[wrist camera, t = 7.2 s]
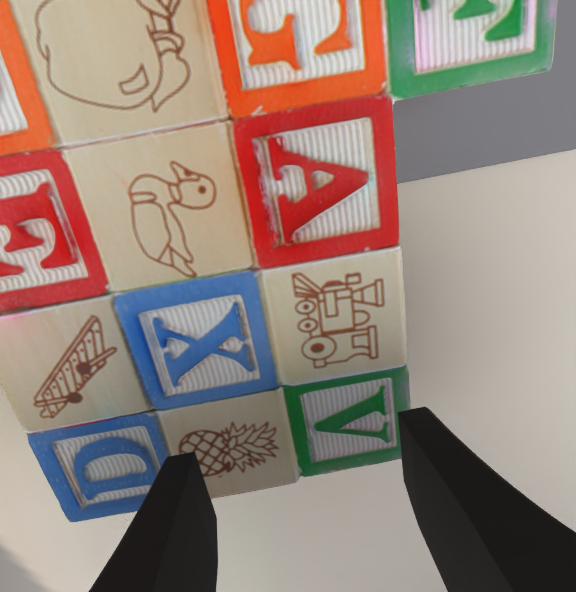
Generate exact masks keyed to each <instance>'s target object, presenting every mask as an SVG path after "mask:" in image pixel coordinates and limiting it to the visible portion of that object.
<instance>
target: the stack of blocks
mask: <svg viewBox="0 0 576 592" xmlns="http://www.w3.org/2000/svg"><path fill="white" fill-rule="evenodd" d="M557 1H558V0H0V383H1V385H2V387H3V389H4V391H5V393H6V395H7V397H8V400H9V402H10V404H11V406H12V408H13V410H14V412H15V414H16V416H17V418H18V420H19V422H20V424H21V426H22V428H23V430H24V431H25V432H26V434H27V436H28V441H29V444H30V446H31V448H32V450H33V452H34V454H35V456H36V458H37V460H38V462H39V464H40V466H41V468H42V470H43V472H44V474H45V476H46V478H47V480H48V482H49V484H50V486H51V488H52V490H53V492H54V494H55V496H56V497H57V499H58V501H59V503H60V506H61V508H62V510H63V512H64V514H65V516H66V517H67V519H68V520H69V521H70V522H78V521H83V520H89V519H95V518H100V517H105V516H111V515H116V514H123V513H130V512H135V511H138V510H139V508H140V506H141V504H142V503H143V501H144V499H145V497H146V495H147V493H148V491H149V489H150V487H151V486H152V484H153V482H154V480H155V478H156V476H157V474H158V472H159V470H160V468H161V466H162V464H163V462H164V461H165V459H166V458H167V457H169V456H174V455H179V454H184V453H189V452H195V453H196V456H197V459H198V462H199V465H200V469H201V472H202V475H203V478H204V481H205V484H206V487H207V490H208V493H209V496H210V499H212V498H217V497H223V496H229V495H235V494H240V493H246V492H251V491H256V490H261V489H266V488H272V487H277V486H282V485H287V484H291V483H295V482H297V481H298V480H299V477H300V476H303V477H307V476H313V475H319V474H326V473H332V472H336V471H340V470H345V469H350V468H356V467H361V466H367V465H372V464H378V463H383V462H387V461H392V460H396V459H401V458H402V455H401V444H400V433H399V423H398V412H401V411H406V410H411V406H410V391H409V374H408V369H407V365H406V363H407V360H408V352H407V331H406V310H405V292H404V276H403V261H402V247H401V245H400V243H399V215H398V197H397V179H396V156H395V138H394V124H393V104H394V102H395V101H398V100H403V99H408V98H413V97H418V96H423V95H428V94H433V93H437V92H442V91H447V90H452V89H457V88H462V87H468V86H473V85H478V84H483V83H489V82H494V81H499V80H505V79H510V78H515V77H520V76H526V75H531V74H537V73H543V72H549V70H550V69H551V66H552V62H553V54H554V40H555V26H556V13H557Z"/></svg>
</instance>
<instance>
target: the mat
mask: <svg viewBox="0 0 576 592" xmlns="http://www.w3.org/2000/svg"><path fill="white" fill-rule="evenodd" d="M393 124H394V138H395V156H396V179H397V184H398V183H403V182H409V181H414V180H419V179H424V178H429V177H434V176H439V175H444V174H450V173H455V172H460V171H465V170H470V169H475V168H480V167H485V166H491V165H496V164H501V163H506V162H511V161H516V160H521V159H526V158H532V157H537V156H542V155H547V154H552V153H557V152H562V151H567V150H573V149H576V0H558V1H557V13H556V26H555V40H554V54H553V62H552V66H551V69H550V70H549V72H543V73H537V74H531V75H526V76H520V77H515V78H510V79H505V80H499V81H494V82H489V83H483V84H478V85H473V86H468V87H462V88H457V89H452V90H447V91H442V92H437V93H433V94H428V95H423V96H418V97H413V98H408V99H403V100H398V101H395V102H394V104H393Z"/></svg>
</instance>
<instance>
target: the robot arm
mask: <svg viewBox="0 0 576 592" xmlns="http://www.w3.org/2000/svg"><path fill="white" fill-rule="evenodd" d="M398 423H399V433H400V444H401V455H402V465H403V476H404V482H405V485H406V489H407V492H408V495H409V498H410V501H411V504H412V507H413V510H414V513H415V516H416V519H417V522H418V525H419V528H420V530H421V532H422V534H423V537H424V539H425V541H426V544H427V546H428V548H429V550H430V553H431V555H432V557H433V559H434V562H435V564H436V566H437V568H438V570H439V573H440V575H441V577H442V579H443V582H444V584H445V586H446V588H447V591H448V592H576V532H574V531H573V530H571V529H570V528H568V527H567V526H565V525H564V524H562V523H561V522H560V521H558V520H557V519H555V518H554V517H553V516H551V515H550V514H548V513H547V512H546V511H544V510H543V509H542V508H540V507H539V506H538V505H536V504H535V503H534V502H532V501H531V500H530V499H529V498H527V497H526V496H525V495H523V494H522V493H521V492H520V491H518V490H517V489H516V488H514V487H513V486H512V485H511V484H510V483H508V482H507V481H506V480H505V479H503V478H502V477H501V476H500V475H499V474H498V473H496V472H495V471H494V470H493V469H492V468H491V467H489V466H488V465H487V464H486V463H485V462H484V461H483V460H481V459H480V458H479V457H478V456H477V455H476V454H475V453H474V452H472V451H471V450H470V449H469V448H468V447H467V446H466V445H465V444H464V443H463V442H462V441H461V440H460V439H458V438H457V437H456V436H455V435H454V434H453V433H452V432H451V431H450V430H449V429H448V428H447V427H446V426H445V425H444V424H443V423H442V422H441V421H440V420H439V419H438V418H437V417H436V416H435V415H434V414H433V413H432V412H431V410H429V409H428V408H426V407H421V408H416V409H411V410H406V411H401V412H398ZM217 568H218V549H217V518H216V514H215V511H214V508H213V505H212V502H211V499H210V496H209V493H208V490H207V487H206V484H205V481H204V478H203V475H202V472H201V469H200V465H199V462H198V459H197V456H196V453H195V452H189V453H184V454H179V455H174V456H169V457H167V458H166V459H165V461H164V462H163V464H162V466H161V468H160V470H159V472H158V474H157V476H156V478H155V480H154V482H153V484H152V486H151V487H150V489H149V491H148V493H147V495H146V497H145V499H144V501H143V503H142V504H141V506H140V508H139V510H138V512H137V514H136V515H135V517H134V519H133V521H132V522H131V524H130V526H129V527H128V529H127V531H126V533H125V534H124V536H123V538H122V540H121V541H120V543H119V545H118V546H117V548H116V550H115V551H114V553H113V555H112V556H111V558H110V559H109V561H108V562H107V564H106V566H105V567H104V569H103V570H102V572H101V573H100V575H99V577H98V578H97V580H96V581H95V583H94V584H93V586H92V587H91V589H90V590H89V592H216V582H217Z"/></svg>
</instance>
